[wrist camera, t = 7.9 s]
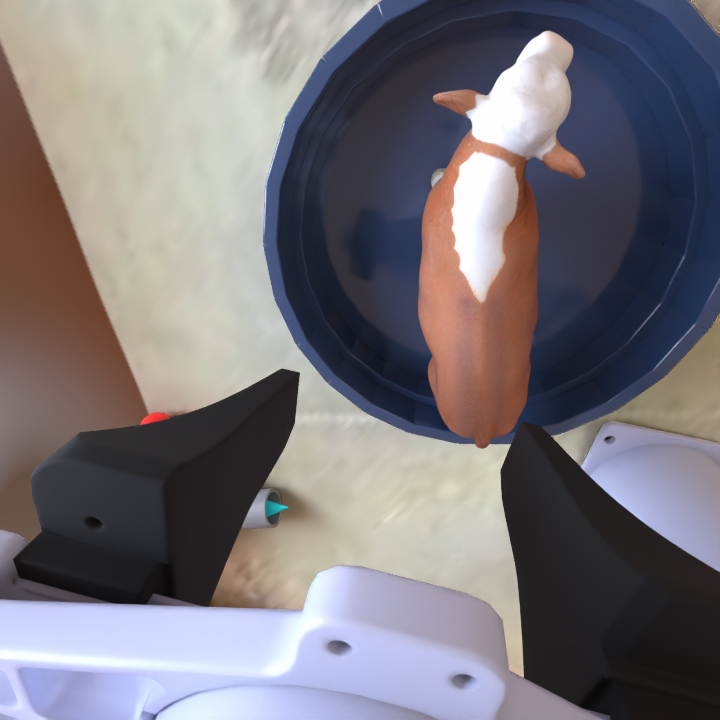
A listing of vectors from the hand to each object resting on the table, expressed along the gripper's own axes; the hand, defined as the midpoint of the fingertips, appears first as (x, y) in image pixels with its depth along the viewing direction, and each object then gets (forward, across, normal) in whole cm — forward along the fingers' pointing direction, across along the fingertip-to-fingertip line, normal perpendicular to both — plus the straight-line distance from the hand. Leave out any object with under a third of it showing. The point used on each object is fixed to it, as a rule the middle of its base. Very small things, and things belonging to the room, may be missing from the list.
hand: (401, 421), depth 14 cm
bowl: (+9, -2, -5) cm, 11 cm away
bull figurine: (+9, -2, -4) cm, 10 cm away
